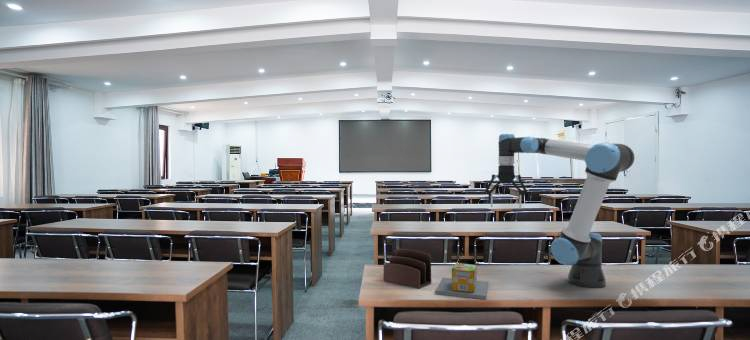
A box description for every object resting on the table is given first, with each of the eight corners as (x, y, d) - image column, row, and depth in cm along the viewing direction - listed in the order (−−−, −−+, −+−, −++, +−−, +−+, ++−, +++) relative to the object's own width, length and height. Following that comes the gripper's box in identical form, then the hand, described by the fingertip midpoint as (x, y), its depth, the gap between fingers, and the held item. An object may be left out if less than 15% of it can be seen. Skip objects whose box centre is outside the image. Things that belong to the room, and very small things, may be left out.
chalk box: (451, 268, 164) (456, 260, 178) (451, 291, 164) (455, 280, 178) (475, 270, 161) (477, 262, 175) (474, 293, 161) (477, 283, 175)
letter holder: (395, 275, 192) (395, 246, 191) (431, 283, 179) (432, 252, 179) (382, 280, 184) (383, 250, 184) (419, 289, 172) (419, 256, 171)
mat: (488, 285, 177) (488, 281, 177) (485, 299, 158) (485, 295, 158) (442, 280, 184) (442, 277, 184) (435, 294, 165) (435, 290, 165)
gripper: (480, 164, 201) (479, 207, 202) (533, 165, 193) (533, 209, 194) (481, 164, 208) (480, 205, 209) (532, 165, 200) (532, 207, 201)
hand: (505, 207), depth 201 cm, fingers open, 13 cm apart
